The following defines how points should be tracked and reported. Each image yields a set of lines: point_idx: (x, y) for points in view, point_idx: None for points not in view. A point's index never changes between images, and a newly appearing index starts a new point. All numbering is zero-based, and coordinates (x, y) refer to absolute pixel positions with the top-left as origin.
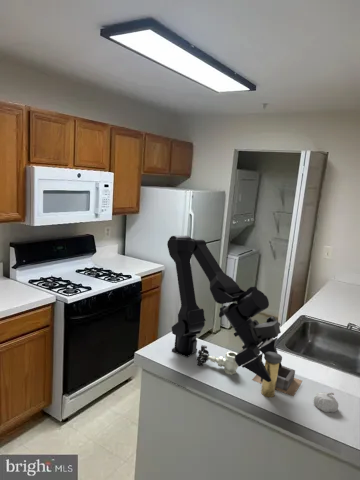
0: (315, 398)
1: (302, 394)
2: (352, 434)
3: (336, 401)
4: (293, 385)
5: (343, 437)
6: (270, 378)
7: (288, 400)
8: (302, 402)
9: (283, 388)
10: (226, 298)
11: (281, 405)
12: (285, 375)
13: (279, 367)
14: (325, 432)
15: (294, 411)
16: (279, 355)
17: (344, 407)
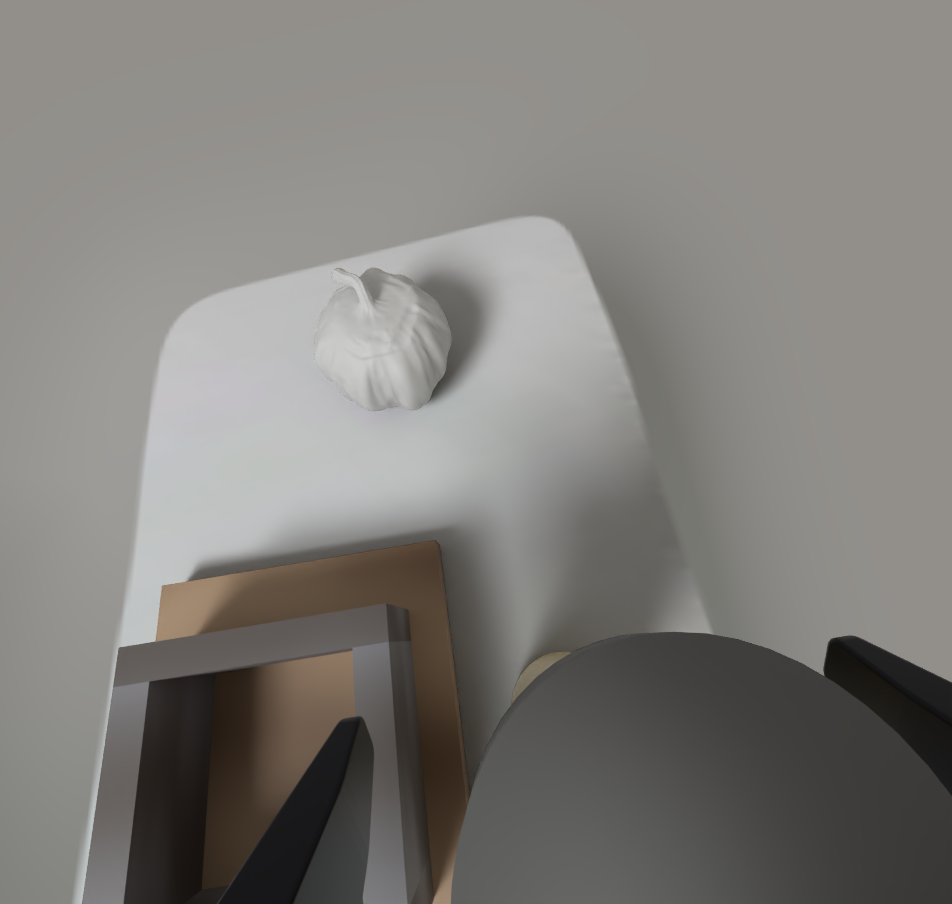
0: (420, 377)
1: (324, 525)
2: (491, 232)
3: (374, 269)
4: (284, 606)
5: (549, 247)
6: (866, 651)
7: (474, 563)
8: (420, 486)
9: (409, 638)
10: None
11: (574, 571)
12: (195, 723)
13: (371, 741)
14: (589, 304)
15: (560, 480)
16: (531, 776)
17: (287, 316)
